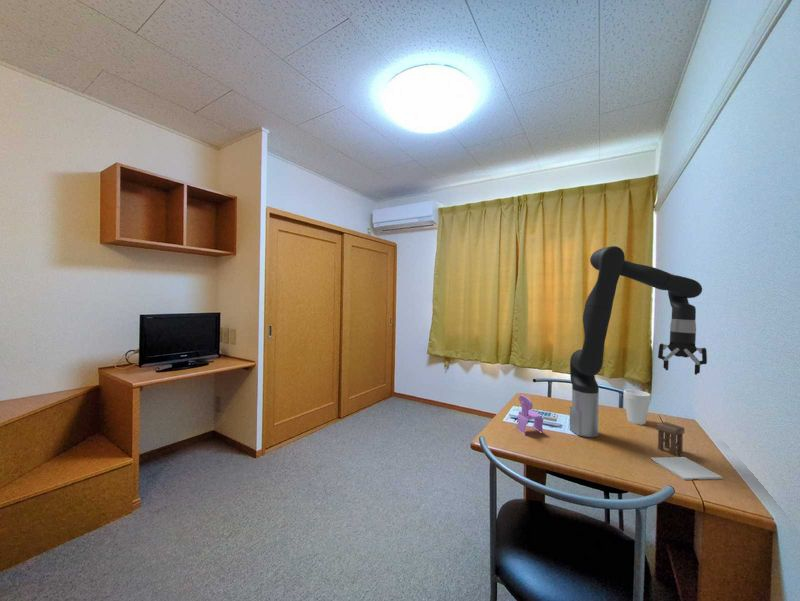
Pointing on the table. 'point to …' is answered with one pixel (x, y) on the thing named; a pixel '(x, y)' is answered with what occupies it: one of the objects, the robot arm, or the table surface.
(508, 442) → the table surface
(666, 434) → the stool
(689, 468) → the mat
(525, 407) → the toy chair
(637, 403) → the foam cup
